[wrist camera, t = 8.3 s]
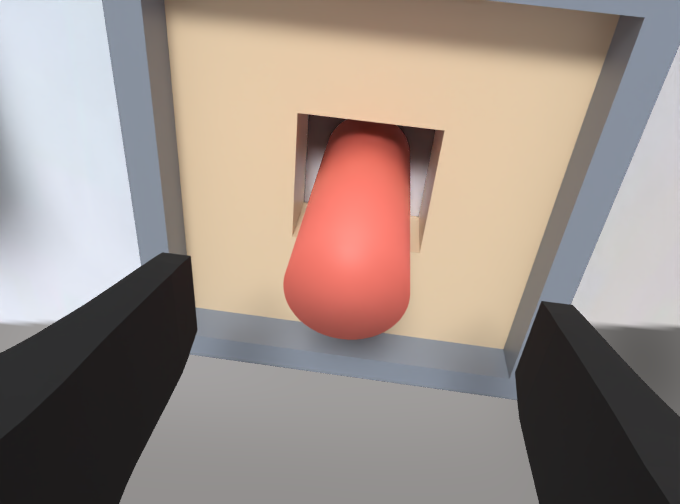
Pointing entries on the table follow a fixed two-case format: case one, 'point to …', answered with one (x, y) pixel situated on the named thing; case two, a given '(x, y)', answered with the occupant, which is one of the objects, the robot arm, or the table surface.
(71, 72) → the table surface
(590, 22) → the box
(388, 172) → the peg
